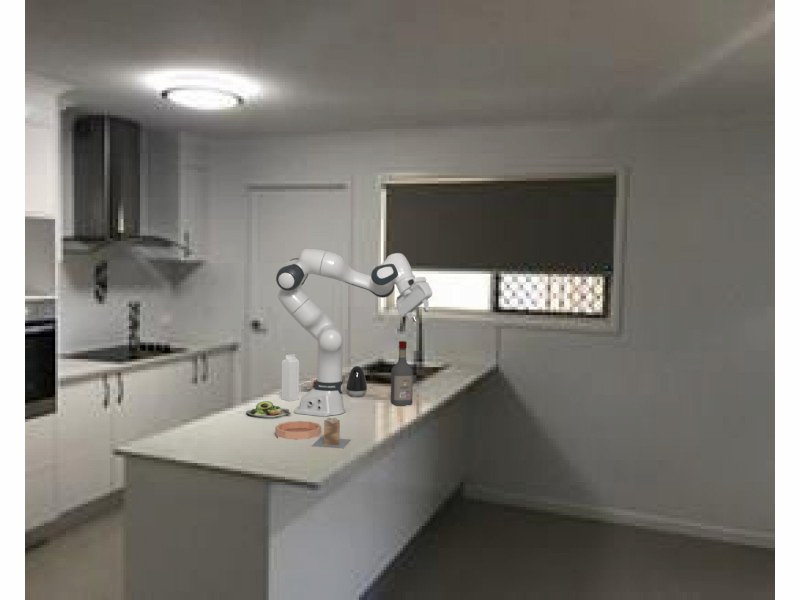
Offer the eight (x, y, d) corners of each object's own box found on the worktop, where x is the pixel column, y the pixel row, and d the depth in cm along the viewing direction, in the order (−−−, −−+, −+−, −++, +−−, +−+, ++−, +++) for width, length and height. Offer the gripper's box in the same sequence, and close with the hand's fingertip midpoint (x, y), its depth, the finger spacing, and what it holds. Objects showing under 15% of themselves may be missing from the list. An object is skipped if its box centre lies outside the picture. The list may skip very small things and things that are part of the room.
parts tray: (311, 448, 238) (311, 446, 238) (320, 440, 250) (320, 437, 250) (343, 451, 236) (343, 448, 236) (351, 442, 248) (351, 439, 248)
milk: (298, 399, 320) (299, 354, 318) (289, 401, 315) (290, 355, 314) (290, 397, 324) (291, 353, 322) (281, 399, 319) (281, 354, 318)
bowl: (269, 440, 248) (269, 430, 248) (284, 428, 265) (284, 420, 265) (313, 443, 246) (313, 433, 245) (325, 431, 262) (325, 422, 262)
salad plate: (301, 413, 292) (302, 403, 292) (275, 422, 277) (276, 411, 276) (267, 408, 302) (267, 398, 301) (240, 416, 286) (240, 405, 286)
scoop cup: (324, 445, 240) (324, 420, 239) (324, 440, 245) (324, 416, 245) (339, 444, 240) (339, 419, 240) (339, 440, 246) (339, 416, 245)
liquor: (413, 405, 312) (414, 342, 310) (395, 406, 309) (396, 343, 307) (407, 401, 320) (408, 340, 319) (389, 402, 318) (390, 340, 316)
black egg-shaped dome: (343, 397, 327) (344, 367, 326) (350, 393, 337) (350, 363, 336) (363, 398, 324) (363, 368, 323) (369, 394, 334) (369, 365, 333)
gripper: (389, 299, 285) (401, 328, 281) (416, 276, 271) (429, 305, 267) (400, 298, 290) (412, 326, 285) (427, 275, 276) (440, 304, 271)
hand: (420, 316), depth 276 cm, fingers open, 8 cm apart
